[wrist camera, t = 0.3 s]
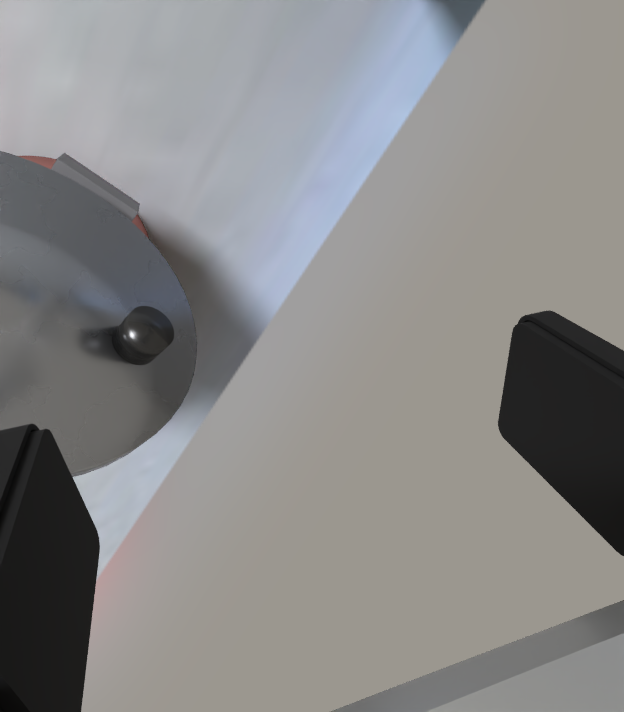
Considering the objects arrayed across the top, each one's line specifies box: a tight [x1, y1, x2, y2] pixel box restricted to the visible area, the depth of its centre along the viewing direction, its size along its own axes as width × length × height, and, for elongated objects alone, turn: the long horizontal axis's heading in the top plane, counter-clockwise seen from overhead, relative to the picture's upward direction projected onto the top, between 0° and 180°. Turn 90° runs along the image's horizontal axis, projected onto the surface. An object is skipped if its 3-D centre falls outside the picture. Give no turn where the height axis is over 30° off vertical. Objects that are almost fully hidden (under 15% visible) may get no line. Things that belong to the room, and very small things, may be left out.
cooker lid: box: [0, 151, 197, 477], centre depth 21 cm, size 20×17×3 cm
